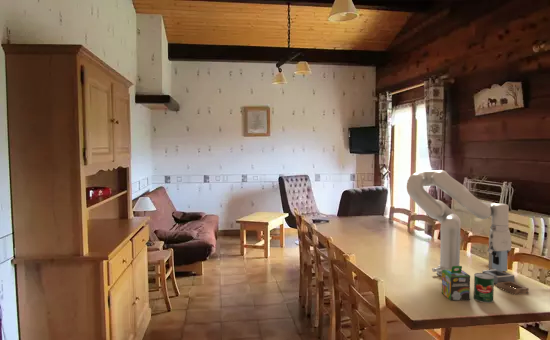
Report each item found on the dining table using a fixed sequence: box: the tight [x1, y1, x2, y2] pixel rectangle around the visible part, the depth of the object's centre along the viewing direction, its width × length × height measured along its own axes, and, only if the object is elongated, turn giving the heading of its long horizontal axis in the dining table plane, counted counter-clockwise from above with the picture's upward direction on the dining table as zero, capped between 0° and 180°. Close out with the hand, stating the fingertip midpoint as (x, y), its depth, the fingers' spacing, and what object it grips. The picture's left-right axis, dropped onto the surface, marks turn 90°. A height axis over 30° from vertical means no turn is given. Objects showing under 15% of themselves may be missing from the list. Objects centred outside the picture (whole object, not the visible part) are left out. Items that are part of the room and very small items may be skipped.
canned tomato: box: [473, 272, 495, 304], centre depth 178 cm, size 8×8×11 cm
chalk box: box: [441, 265, 471, 301], centre depth 181 cm, size 9×9×15 cm
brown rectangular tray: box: [496, 281, 529, 295], centre depth 189 cm, size 8×10×2 cm
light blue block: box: [492, 251, 508, 272], centre depth 201 cm, size 4×6×10 cm, turn 14°
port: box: [481, 269, 515, 285], centre depth 201 cm, size 10×10×4 cm
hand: (499, 263), depth 201 cm, fingers closed on light blue block, 3 cm apart
